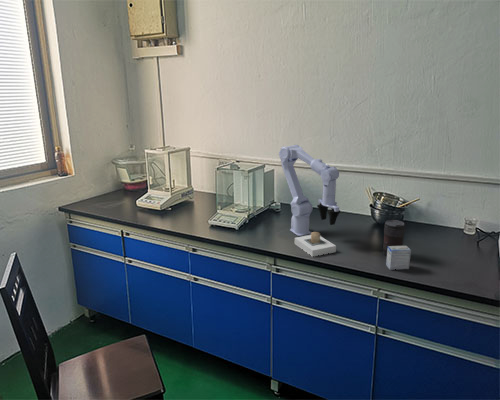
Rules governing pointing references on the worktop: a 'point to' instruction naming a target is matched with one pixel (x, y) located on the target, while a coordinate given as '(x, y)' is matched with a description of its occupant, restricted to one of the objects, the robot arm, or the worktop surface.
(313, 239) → the peg
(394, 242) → the camera lens
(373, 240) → the worktop surface
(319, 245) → the socket board
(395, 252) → the medicine box
